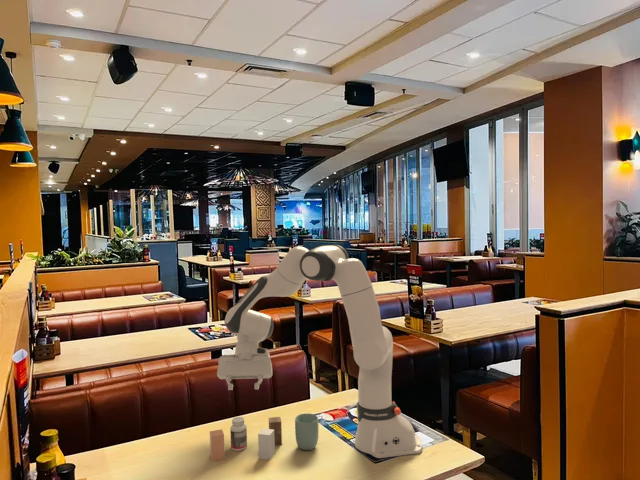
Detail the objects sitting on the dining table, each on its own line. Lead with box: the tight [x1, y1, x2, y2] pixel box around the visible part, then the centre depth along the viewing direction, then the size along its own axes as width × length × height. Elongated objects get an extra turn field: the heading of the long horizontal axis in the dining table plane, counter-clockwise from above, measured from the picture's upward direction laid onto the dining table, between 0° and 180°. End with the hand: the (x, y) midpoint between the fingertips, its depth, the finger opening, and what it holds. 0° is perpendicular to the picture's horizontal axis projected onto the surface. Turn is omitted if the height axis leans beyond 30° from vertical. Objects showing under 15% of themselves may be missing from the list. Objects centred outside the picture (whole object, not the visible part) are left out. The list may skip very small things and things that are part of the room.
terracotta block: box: [209, 428, 226, 462], centre depth 153 cm, size 4×4×8 cm
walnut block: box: [268, 416, 283, 446], centre depth 162 cm, size 4×4×8 cm
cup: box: [294, 413, 320, 451], centre depth 158 cm, size 8×8×10 cm
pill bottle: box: [230, 416, 248, 452], centre depth 159 cm, size 5×5×10 cm
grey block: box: [257, 428, 276, 461], centre depth 153 cm, size 4×4×8 cm
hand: (243, 389), depth 171 cm, fingers open, 8 cm apart
